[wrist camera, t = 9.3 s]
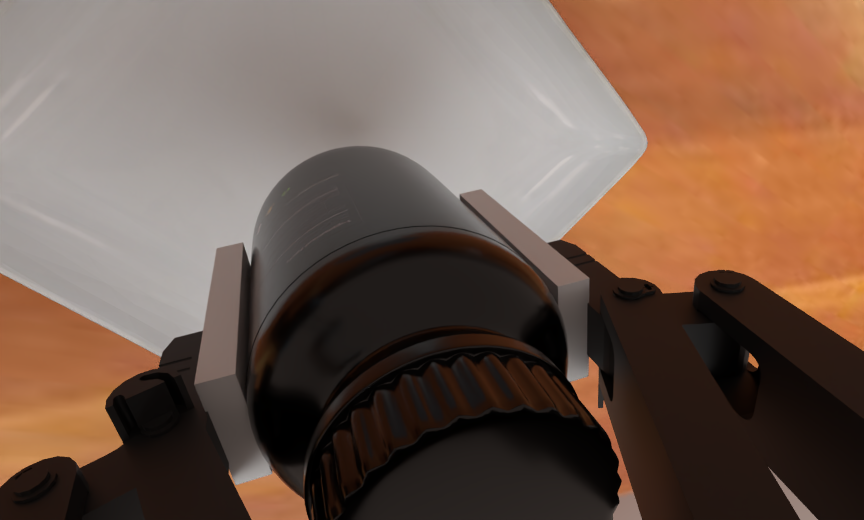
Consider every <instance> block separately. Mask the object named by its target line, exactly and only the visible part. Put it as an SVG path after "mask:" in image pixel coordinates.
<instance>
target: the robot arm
mask: <svg viewBox="0 0 864 520" xmlns="http://www.w3.org/2000/svg"><path fill="white" fill-rule="evenodd" d="M459 195H460V201H462V202H463V203H464V204H465V205H466V206H467V207H468V208H469V209H470V210H471V211H472V212H473V213H474V214H476V215H477V216H478V217H479V218H480V219H481V220H482V221H483V222H484V223H485V224H486V225H487V226H488V227H489V228H491V229H492V230H493V231H494V232H495V233H496V234H497V235H498V236H499V237H500V238H501V239H502V240H503V241H505V242H506V243H507V244H508V245H509V246H510V247H511V248H512V249H513V250H514V251H515V252H516V253H517V254H518V255H520V256H521V257H522V258H523V259H524V260H525V261H526V262H527V263H528V264H529V265H530V267H531V268H532V269H533V270H534V271H535V272H536V273H537V274H538V276H539V277H540V278H541V279H542V280H543V281H544V283H545V284H546V286H547V287H548V289H549V290H550V292H551V293H552V295H553V297H554V299H555V301H556V303H557V305H558V307H559V310H560V313H561V315H562V318H563V322H564V326H565V330H566V335H567V343H568V374H567V379H568V381H569V382H571V381H574V380H578V379H581V378H584V377H587V376H588V366H589V357H590V358H591V359H592V360H593V361H594V362H595V363H596V364H597V365H598V366H599V385H598V408H603V401H605V404H606V407H607V411H608V414H609V417H610V420H611V423H612V426H613V429H614V432H615V436H616V439H617V442H618V445H619V448H620V451H621V454H622V458H623V461H624V464H625V467H626V470H627V473H628V476H629V479H630V483H631V486H632V489H633V492H634V495H635V498H636V501H637V504H638V507H639V511H640V514H641V517H642V520H800V519H799V517H798V515H797V514H796V512H795V510H794V509H793V507H792V506H791V504H790V502H789V500H788V499H787V497H786V496H785V494H784V492H783V491H782V489H781V488H780V486H779V484H778V482H777V481H776V479H775V477H774V476H773V474H772V473H771V471H770V469H771V470H772V471H773V472H774V473H775V474H776V475H777V477H778V478H779V479H780V480H781V481H782V482H783V483H784V484H785V485H786V486H787V487H788V488H789V489H790V490H791V491H792V492H793V493H794V494H795V496H796V497H797V498H798V499H799V500H800V501H801V502H802V503H803V504H804V505H805V506H806V507H807V508H808V509H809V510H810V511H811V513H812V514H814V516H815V517H816V518H817V519H818V520H864V351H862V350H861V349H859V348H858V347H856V346H855V345H853V344H852V343H850V342H849V341H847V340H846V339H844V338H843V337H841V336H840V335H838V334H837V333H835V332H834V331H832V330H830V329H829V328H827V327H826V326H824V325H823V324H821V323H820V322H818V321H817V320H815V319H814V318H812V317H811V316H809V315H808V314H806V313H805V312H803V311H802V310H800V309H799V308H797V307H796V306H794V305H793V304H791V303H790V302H788V301H787V300H785V299H783V298H782V297H780V296H779V295H777V294H776V293H774V292H773V291H771V290H770V289H768V288H767V287H765V286H764V285H762V284H761V283H759V282H758V281H756V280H755V279H753V278H751V277H749V276H747V275H745V274H741V273H737V272H734V271H730V270H726V271H725V270H717V271H708V272H705V273H702V274H700V275H699V276H698V277H697V278H695V283H694V292H682V293H665V294H662V292H661V290H660V289H659V288H658V287H657V286H656V285H655V284H652V283H650V282H648V281H646V280H641V279H637V278H619V277H617V276H616V275H615V274H613V273H612V272H611V271H609V270H608V269H607V268H605V267H604V266H603V265H601V264H600V263H599V262H597V261H595V259H593V258H592V257H591V256H590V255H587V254H586V252H584V251H583V250H582V249H580V248H579V247H578V246H576V245H574V244H571V243H568V242H565V241H562V240H557V241H553V242H549V243H546V242H545V241H544V240H543V239H541V238H540V237H539V236H538V235H537V234H535V233H534V232H533V231H532V230H531V229H529V228H528V227H527V226H526V225H524V224H523V223H522V222H521V221H520V220H518V219H517V218H516V217H515V216H514V215H512V214H511V213H510V212H509V211H507V210H506V209H505V208H504V207H503V206H501V205H500V204H499V203H498V202H497V201H495V200H494V199H493V198H492V197H491V196H489V195H488V194H487V193H486V192H484V191H483V190H482V189H479V190H475V191H470V192H466V193H461V194H459ZM250 276H251V266H250V263H249V260H248V256H247V253H246V250H245V247H244V244H243V242H242V243H237V244H233V245H228V246H224V247H219V248H217V249H216V255H215V261H214V267H213V273H212V279H211V285H210V291H209V298H208V304H207V310H206V316H205V322H204V328H203V331H200V332H196V333H192V334H188V335H184V336H180V337H176V338H174V339H173V340H172V341H171V343H170V344H169V345H168V346H167V347H166V348H165V350H164V351H163V352H162V356H161V360H160V364H159V368H158V369H153V370H149V371H146V372H143V373H140V374H138V375H136V376H134V377H132V378H130V379H128V380H126V381H125V382H123V383H122V384H121V385H120V386H118V387H117V388H116V389H115V390H113V392H112V393H111V394H110V396H109V397H108V399H107V400H106V407H105V409H106V411H107V413H108V415H109V417H110V418H111V420H112V422H113V424H114V426H115V428H116V430H117V432H118V434H119V436H120V437H121V439H122V441H123V445H122V446H121V447H119V448H118V449H116V450H115V451H113V452H111V453H109V454H107V455H106V456H104V457H102V458H100V459H98V460H96V461H93V462H91V463H89V464H87V465H85V466H83V467H81V468H79V467H78V465H77V463H76V462H75V461H73V460H72V459H71V458H70V457H60V456H57V457H53V458H48V459H44V460H41V461H39V462H37V463H34V464H32V465H30V466H28V467H26V468H24V469H22V470H21V471H19V472H18V473H16V474H15V475H14V476H12V477H11V478H10V479H9V480H8V481H7V482H6V483H4V484H3V485H2V486H1V487H0V520H251V518H250V516H249V514H248V512H247V510H246V508H245V506H244V504H243V502H242V500H241V498H240V496H239V494H238V492H237V490H236V488H235V486H234V484H233V482H232V480H231V478H230V476H229V474H228V473H229V470H230V472H231V475H232V477H233V479H234V482H235V484H236V485H238V484H241V483H244V482H248V481H251V480H254V479H257V478H260V477H264V476H267V475H270V474H272V469H271V467H270V466H269V464H268V463H267V461H266V460H265V458H264V457H263V455H262V453H261V451H260V449H259V447H258V445H257V443H256V441H255V438H254V435H253V432H252V429H251V425H250V421H249V416H248V407H247V393H246V391H247V390H246V373H247V348H248V324H249V300H250ZM749 353H751V354H752V356H753V357H754V358H755V359H756V361H757V363H758V365H759V366H758V369H757V368H756V367H754V366H753V365H752V364H751V363H749V362H748V358H749ZM768 467H769V468H770V469H769V468H768Z"/></svg>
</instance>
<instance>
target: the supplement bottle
mask: <svg viewBox="0 0 864 520" xmlns="http://www.w3.org/2000/svg"><path fill="white" fill-rule="evenodd" d="M567 374H568V343H567V335H566V330H565V326H564V322H563V318H562V315H561V313H560V310H559V307H558V305H557V303H556V301H555V299H554V297H553V295H552V293H551V292H550V290H549V289H548V287H547V286H546V284H545V283H544V281H543V280H542V279H541V278H540V277H539V276H538V274H537V273H536V272H535V271H534V270H533V269H532V268H531V267H530V265H529V264H528V263H527V262H526V261H525V260H524V259H523V258H522V257H521V256H520V255H518V254H517V253H516V252H515V251H514V250H513V249H512V248H511V247H510V246H509V245H508V244H507V243H506V242H505V241H503V240H502V239H501V238H500V237H499V236H498V235H497V234H496V233H495V232H494V231H493V230H492V229H491V228H489V227H488V226H487V225H486V224H485V223H484V222H483V221H482V220H481V219H480V218H479V217H478V216H477V215H476V214H474V213H473V212H472V211H471V210H470V209H469V208H468V207H467V206H466V205H465V204H464V203H463V202H462V201H460V200H459V199H458V198H457V197H456V196H455V195H454V194H453V193H452V192H451V191H450V190H449V189H448V188H447V187H445V186H444V185H443V184H442V183H441V182H440V181H439V180H438V179H437V178H436V177H434V176H433V175H432V174H431V173H430V172H428V171H427V170H426V169H425V168H424V167H422V166H421V165H419V164H418V163H417V162H415V161H413V160H411V159H410V158H408V157H406V156H404V155H401V154H399V153H397V152H394V151H391V150H388V149H383V148H378V147H371V146H349V147H342V148H336V149H332V150H329V151H325V152H322V153H320V154H317V155H315V156H313V157H311V158H309V159H307V160H305V161H303V162H302V163H300V164H299V165H297V166H296V167H294V168H293V169H292V170H291V171H289V172H288V173H287V174H286V175H285V176H284V177H283V178H282V179H281V180H280V181H279V182H278V183H277V184H276V185H275V187H274V188H273V189H272V190H271V192H270V193H269V195H268V196H267V198H266V200H265V202H264V203H263V205H262V207H261V210H260V212H259V215H258V218H257V221H256V225H255V228H254V234H253V241H252V253H251V276H250V300H249V324H248V348H247V373H246V390H247V391H246V393H247V407H248V416H249V421H250V425H251V429H252V432H253V435H254V438H255V441H256V443H257V445H258V447H259V449H260V451H261V453H262V455H263V457H264V458H265V460H266V461H267V463H268V464H269V466H270V467H271V469H272V470H273V471H274V472H275V473H276V474H277V476H278V477H279V478H280V479H281V480H282V481H283V482H284V483H285V484H286V485H287V486H288V487H289V488H290V489H291V490H293V491H294V492H295V493H296V494H297V495H299V496H300V497H302V498H303V499H304V500H305V506H306V511H307V515H308V518H309V520H613V513H614V511H615V509H616V507H617V506H618V504H619V497H618V494H617V493H618V490H619V488H620V485H621V482H622V481H621V479H620V476H619V474H618V473H617V470H618V466H619V460H618V458H617V456H616V454H615V452H614V451H613V449H612V446H611V441H610V439H609V437H608V435H607V433H606V432H605V431H604V429H603V428H602V427H601V426H600V424H599V423H598V422H597V421H596V419H595V418H594V417H593V416H592V415H591V413H590V412H589V411H588V410H587V409H586V407H585V406H584V405H583V404H582V403H581V401H580V400H579V399H578V397H577V394H576V392H575V390H574V388H573V387H572V385H571V383H570V382H569V381H568V379H567Z"/></svg>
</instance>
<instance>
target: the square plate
mask: <svg viewBox="0 0 864 520" xmlns="http://www.w3.org/2000/svg"><path fill="white" fill-rule="evenodd" d="M647 144H648V142H647V137H646V135H645V133H644V131H643V130H642V128H641V127H640V125H639V124H638V122H637V121H636V119H635V118H634V116H633V115H632V113H631V112H630V110H629V109H628V107H627V106H626V105H625V103H624V102H623V100H622V99H621V98H620V96H619V95H618V93H617V92H616V91H615V89H614V88H613V87H612V85H611V84H610V83H609V81H608V80H607V79H606V77H605V76H604V74H603V73H602V72H601V70H600V69H599V68H598V66H597V65H596V64H595V62H594V61H593V60H592V58H591V57H590V56H589V54H588V53H587V52H586V50H585V49H584V48H583V46H582V45H581V44H580V42H579V41H578V40H577V38H576V37H575V36H574V34H573V33H572V32H571V30H570V29H569V28H568V26H567V25H566V23H565V22H564V21H563V19H562V18H561V16H560V15H559V14H558V12H557V11H556V9H555V8H554V7H553V5H552V4H551V3H550V1H549V0H0V273H1V274H3V275H5V276H7V277H9V278H11V279H13V280H14V281H16V282H18V283H20V284H22V285H24V286H26V287H28V288H30V289H32V290H34V291H36V292H38V293H40V294H42V295H43V296H45V297H47V298H49V299H51V300H53V301H55V302H57V303H59V304H61V305H63V306H65V307H67V308H68V309H70V310H72V311H74V312H76V313H78V314H80V315H82V316H84V317H86V318H87V319H89V320H91V321H93V322H95V323H97V324H99V325H101V326H103V327H105V328H107V329H109V330H111V331H112V332H114V333H116V334H118V335H120V336H122V337H124V338H126V339H128V340H130V341H132V342H133V343H135V344H137V345H139V346H141V347H143V348H145V349H147V350H149V351H151V352H152V353H154V354H156V355H158V356H160V357H161V356H162V352H163V351H164V350H165V348H166V347H167V346H168V345H169V344H170V343H171V341H172V340H173V339H174V338H176V337H180V336H184V335H188V334H192V333H196V332H200V331H203V328H204V322H205V316H206V310H207V304H208V298H209V291H210V285H211V279H212V273H213V267H214V261H215V255H216V249H217V248H219V247H224V246H228V245H233V244H237V243H242V242H243V244H244V247H245V250H246V253H247V256H248V260H249V263H250V266H251V253H252V241H253V234H254V228H255V225H256V221H257V218H258V215H259V212H260V210H261V207H262V205H263V203H264V202H265V200H266V198H267V196H268V195H269V193H270V192H271V190H272V189H273V188H274V187H275V185H276V184H277V183H278V182H279V181H280V180H281V179H282V178H283V177H284V176H285V175H286V174H287V173H288V172H289V171H291V170H292V169H293V168H294V167H296V166H297V165H299V164H300V163H302V162H303V161H305V160H307V159H309V158H311V157H313V156H315V155H317V154H320V153H322V152H325V151H329V150H332V149H336V148H342V147H349V146H371V147H378V148H383V149H388V150H391V151H394V152H397V153H399V154H401V155H404V156H406V157H408V158H410V159H411V160H413V161H415V162H417V163H418V164H419V165H421V166H422V167H424V168H425V169H426V170H427V171H428V172H430V173H431V174H432V175H433V176H434V177H436V178H437V179H438V180H439V181H440V182H441V183H442V184H443V185H444V186H445V187H447V188H448V189H449V190H450V191H451V192H452V193H453V194H454V195H455V196H456V197H457V198H458V199H459V200H460V195H459V194H461V193H466V192H470V191H475V190H479V189H482V190H483V191H484V192H486V193H487V194H488V195H489V196H491V197H492V198H493V199H494V200H495V201H497V202H498V203H499V204H500V205H501V206H503V207H504V208H505V209H506V210H507V211H509V212H510V213H511V214H512V215H514V216H515V217H516V218H517V219H518V220H520V221H521V222H522V223H523V224H524V225H526V226H527V227H528V228H529V229H531V230H532V231H533V232H534V233H535V234H537V235H538V236H539V237H540V238H541V239H543V240H544V241H545V242H546V243H549V242H553V241H557V240H560V239H561V238H562V237H563V236H564V235H565V234H566V233H567V232H568V231H569V230H570V229H571V228H572V227H573V226H574V225H575V224H576V223H577V222H578V221H579V220H580V219H581V218H582V217H583V216H584V215H585V214H586V213H587V212H588V211H589V210H590V209H591V208H592V207H593V206H594V205H595V204H596V203H597V202H598V201H599V200H600V199H601V198H602V197H603V196H604V195H605V194H606V193H607V192H608V191H609V190H610V189H611V188H612V187H613V186H614V185H615V184H616V183H617V182H618V181H619V180H620V179H621V178H622V177H623V176H624V174H625V173H626V172H627V171H628V170H629V169H630V168H631V167H632V166H633V165H634V164H635V163H636V162H637V160H638V159H639V158H640V157H641V156H642V154H643V153H644V152H645V150H646V148H647Z"/></svg>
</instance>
